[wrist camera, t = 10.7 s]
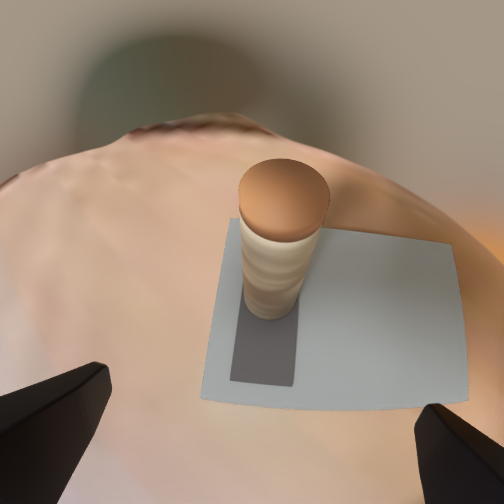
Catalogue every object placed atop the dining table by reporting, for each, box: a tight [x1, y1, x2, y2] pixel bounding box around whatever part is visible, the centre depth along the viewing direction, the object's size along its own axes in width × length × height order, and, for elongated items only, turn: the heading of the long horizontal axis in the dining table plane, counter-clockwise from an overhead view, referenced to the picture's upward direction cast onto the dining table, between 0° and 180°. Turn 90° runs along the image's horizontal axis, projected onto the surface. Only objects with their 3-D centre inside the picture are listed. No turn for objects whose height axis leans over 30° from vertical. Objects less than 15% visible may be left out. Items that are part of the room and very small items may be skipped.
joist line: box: [230, 285, 299, 387], centre depth 22 cm, size 12×4×1 cm, turn 173°
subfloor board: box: [200, 218, 468, 411], centre depth 22 cm, size 20×14×2 cm
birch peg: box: [238, 159, 330, 321], centre depth 17 cm, size 4×4×11 cm
